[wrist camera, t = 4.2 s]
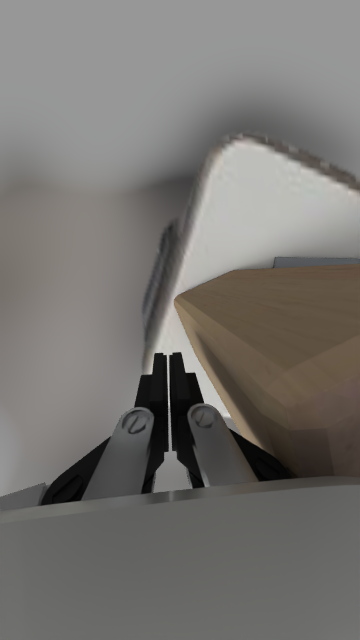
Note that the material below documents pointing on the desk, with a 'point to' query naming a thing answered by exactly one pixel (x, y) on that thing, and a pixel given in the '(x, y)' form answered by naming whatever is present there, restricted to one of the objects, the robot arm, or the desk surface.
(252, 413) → the wooden block
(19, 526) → the robot arm
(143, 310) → the desk surface
